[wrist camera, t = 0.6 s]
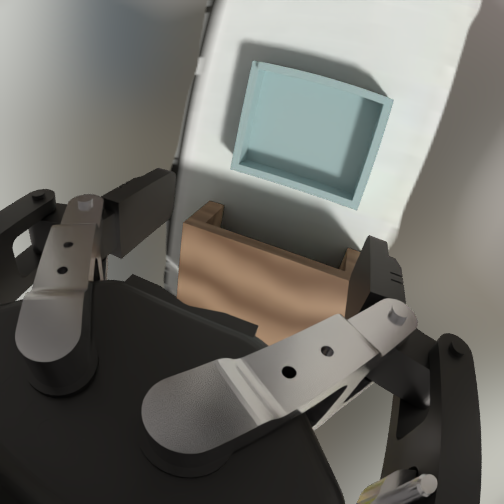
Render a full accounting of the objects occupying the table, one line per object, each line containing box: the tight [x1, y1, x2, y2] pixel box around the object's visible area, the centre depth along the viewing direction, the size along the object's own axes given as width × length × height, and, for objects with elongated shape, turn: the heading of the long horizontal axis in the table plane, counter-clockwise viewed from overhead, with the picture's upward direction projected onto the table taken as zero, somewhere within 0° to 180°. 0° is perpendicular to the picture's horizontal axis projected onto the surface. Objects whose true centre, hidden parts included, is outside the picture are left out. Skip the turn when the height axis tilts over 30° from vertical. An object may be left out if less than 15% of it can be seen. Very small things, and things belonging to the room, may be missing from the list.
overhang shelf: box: [177, 201, 361, 346], centre depth 39 cm, size 14×20×7 cm
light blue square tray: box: [230, 61, 394, 210], centre depth 30 cm, size 12×14×4 cm
